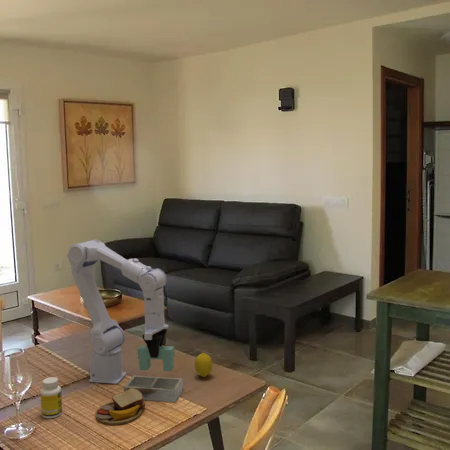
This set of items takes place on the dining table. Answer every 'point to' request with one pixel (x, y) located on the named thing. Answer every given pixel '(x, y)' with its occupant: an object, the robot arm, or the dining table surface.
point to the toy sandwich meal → (121, 408)
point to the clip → (164, 354)
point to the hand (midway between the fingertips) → (155, 354)
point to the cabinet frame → (156, 387)
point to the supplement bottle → (51, 398)
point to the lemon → (203, 364)
